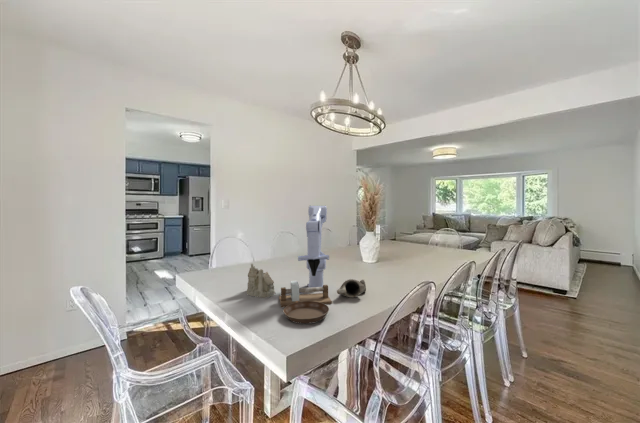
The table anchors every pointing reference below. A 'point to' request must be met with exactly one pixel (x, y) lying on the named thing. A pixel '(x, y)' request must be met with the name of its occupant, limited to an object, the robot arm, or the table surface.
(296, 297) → the collar
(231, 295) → the table surface
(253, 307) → the table surface
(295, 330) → the table surface
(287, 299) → the rod stand
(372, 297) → the table surface
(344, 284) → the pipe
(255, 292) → the ceramic cottage
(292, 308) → the plant saucer
